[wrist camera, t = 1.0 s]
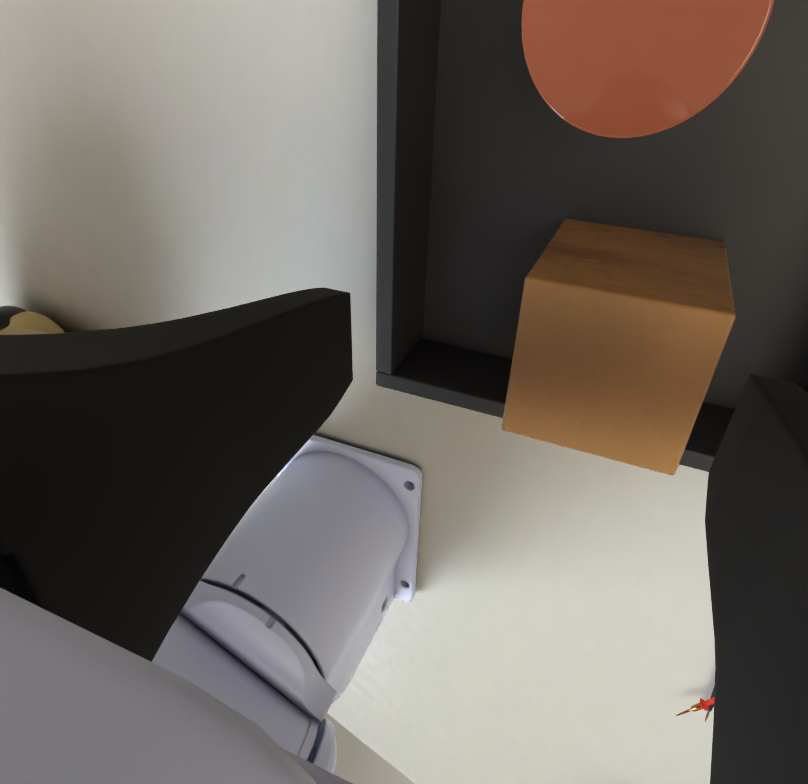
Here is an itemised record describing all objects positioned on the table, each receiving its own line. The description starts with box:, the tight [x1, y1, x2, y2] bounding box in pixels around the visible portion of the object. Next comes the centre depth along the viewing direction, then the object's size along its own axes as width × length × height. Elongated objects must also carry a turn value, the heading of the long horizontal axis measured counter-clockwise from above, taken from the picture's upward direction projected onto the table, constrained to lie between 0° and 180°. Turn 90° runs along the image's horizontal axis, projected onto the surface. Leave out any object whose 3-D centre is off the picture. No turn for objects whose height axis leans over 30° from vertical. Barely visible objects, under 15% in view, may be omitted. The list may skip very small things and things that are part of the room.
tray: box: [376, 0, 808, 472], centre depth 15 cm, size 15×14×4 cm
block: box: [502, 219, 736, 475], centre depth 16 cm, size 5×5×5 cm
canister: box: [521, 0, 775, 138], centre depth 12 cm, size 4×4×6 cm
